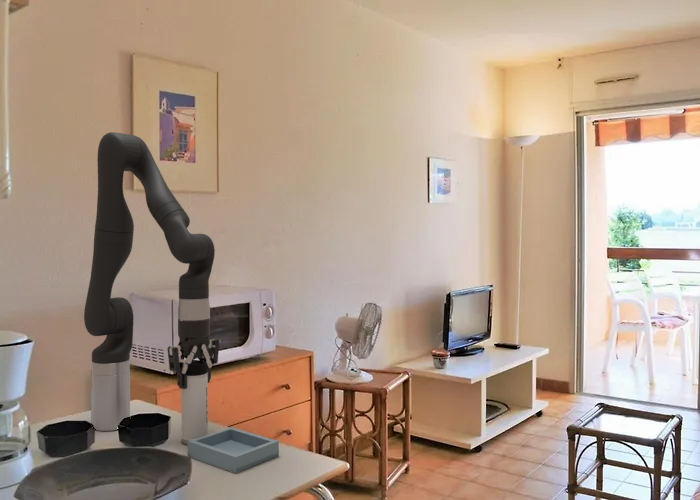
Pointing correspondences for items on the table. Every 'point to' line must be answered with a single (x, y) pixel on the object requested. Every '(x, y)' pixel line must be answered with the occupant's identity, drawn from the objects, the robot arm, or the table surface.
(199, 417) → the travel mug
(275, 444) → the slate tray
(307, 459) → the table surface
